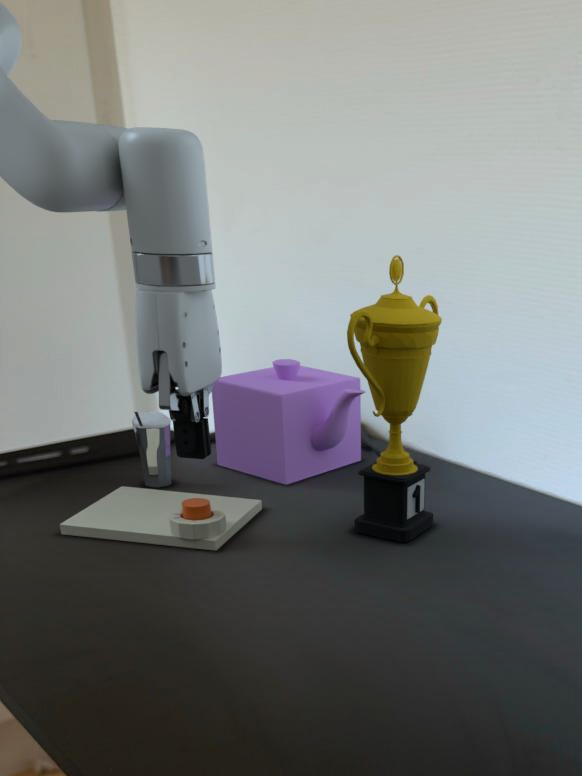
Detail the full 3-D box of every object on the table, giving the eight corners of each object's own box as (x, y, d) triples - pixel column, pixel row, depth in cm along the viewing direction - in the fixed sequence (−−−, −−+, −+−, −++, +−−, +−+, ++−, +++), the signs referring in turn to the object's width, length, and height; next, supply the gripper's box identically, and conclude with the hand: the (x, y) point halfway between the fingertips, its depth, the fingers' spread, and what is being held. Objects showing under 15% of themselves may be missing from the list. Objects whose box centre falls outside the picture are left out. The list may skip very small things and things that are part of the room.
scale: (58, 535, 102) (54, 510, 101) (122, 495, 115) (119, 471, 114) (214, 552, 100) (212, 526, 99) (262, 509, 113) (260, 485, 112)
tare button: (178, 520, 101) (176, 505, 100) (190, 511, 103) (188, 496, 103) (204, 523, 100) (203, 508, 100) (215, 514, 103) (214, 499, 102)
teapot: (326, 496, 118) (324, 385, 112) (193, 457, 130) (183, 355, 124) (400, 470, 130) (401, 368, 123) (271, 437, 141) (266, 342, 135)
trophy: (390, 564, 100) (392, 265, 86) (314, 546, 103) (304, 256, 89) (466, 512, 115) (477, 253, 102) (397, 499, 119) (400, 246, 105)
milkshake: (128, 488, 117) (118, 409, 113) (151, 476, 122) (143, 400, 117) (161, 493, 116) (152, 413, 112) (183, 480, 121) (175, 404, 116)
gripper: (172, 263, 97) (190, 436, 106) (99, 277, 84) (127, 473, 92) (240, 267, 96) (253, 441, 105) (177, 282, 83) (198, 479, 92)
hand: (194, 455), depth 99 cm, fingers closed
